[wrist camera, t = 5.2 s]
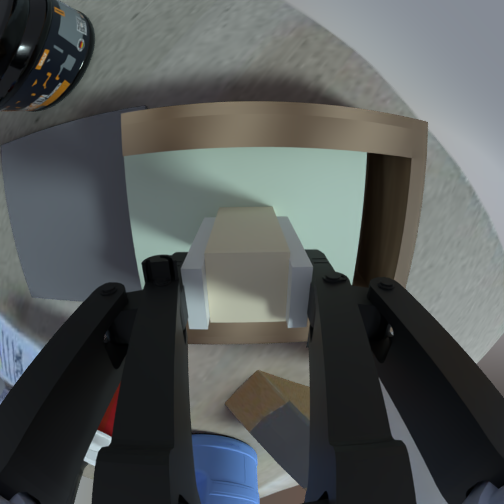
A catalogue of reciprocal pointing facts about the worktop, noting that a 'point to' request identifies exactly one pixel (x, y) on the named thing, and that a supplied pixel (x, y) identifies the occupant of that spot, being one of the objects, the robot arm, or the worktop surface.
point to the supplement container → (41, 52)
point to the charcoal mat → (71, 207)
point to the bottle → (412, 456)
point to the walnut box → (306, 136)
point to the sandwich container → (277, 420)
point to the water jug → (224, 470)
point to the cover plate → (247, 182)
